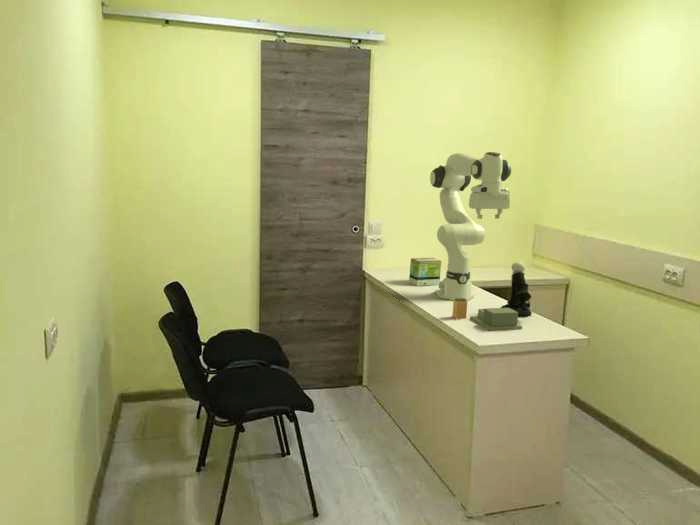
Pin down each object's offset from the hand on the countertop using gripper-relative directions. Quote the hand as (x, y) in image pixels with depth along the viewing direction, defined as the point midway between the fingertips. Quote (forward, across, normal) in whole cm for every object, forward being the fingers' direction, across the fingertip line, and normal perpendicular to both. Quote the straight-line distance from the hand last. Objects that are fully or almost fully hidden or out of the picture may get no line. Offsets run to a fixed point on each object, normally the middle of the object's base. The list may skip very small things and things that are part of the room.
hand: (488, 218), depth 270 cm
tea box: (+45, -5, -65) cm, 80 cm away
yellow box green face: (+45, +14, +3) cm, 47 cm away
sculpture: (+45, -15, +7) cm, 48 cm away
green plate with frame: (+45, +3, +16) cm, 48 cm away
